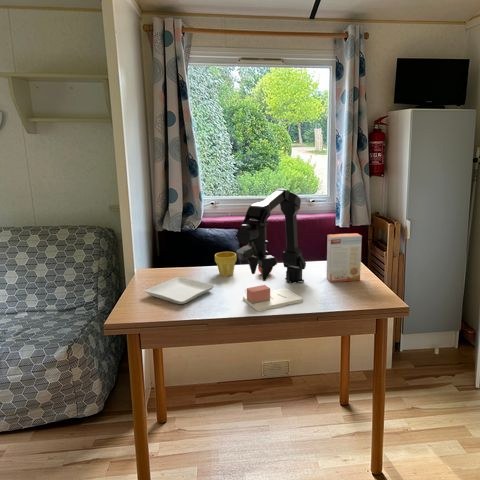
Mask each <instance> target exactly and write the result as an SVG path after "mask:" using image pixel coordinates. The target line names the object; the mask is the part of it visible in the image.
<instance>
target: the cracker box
mask: <svg viewBox="0 0 480 480" xmlns="http://www.w3.org/2000/svg"><path fill="white" fill-rule="evenodd" d="M362 239H363V235H361V234H359V233H358V232H357V233H355V232H354V233H335V234H327V243H326V244H327V245H326V250H327V251H326V279H327V280H328V281H329V283H335V282H336V283H337V282H338V283H339V282H340V283H341V282H355V281H356V282H357V281H360V280H361V269H362V268H361V267H362V264H361V263H362Z"/></svg>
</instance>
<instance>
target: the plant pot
mask: <svg viewBox="0 0 480 480" xmlns="http://www.w3.org/2000/svg"><path fill="white" fill-rule="evenodd" d="M237 259H238V256H237V252H233V251H221V252H217V253H215V254H214V262H215V263H216V265H217V270H218V273H219V275H220V276H222V277H229V276H233V275H234V273H235V271H234V270H235V264H236V262H237Z"/></svg>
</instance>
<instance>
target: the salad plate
mask: <svg viewBox="0 0 480 480" xmlns="http://www.w3.org/2000/svg"><path fill="white" fill-rule="evenodd" d="M214 287H215V285H214V284H212V283H207V282H203V281H199V280H195V279H190V278H187V277H183V276H178V277H175V278H172V279H169V280H167V281H164V282H162V283H159V284H157V285H154V286H151V287H149V288H148V289H145V290H144V292H145V293H146V294H147V295H149V296H152V297H155V298H158V299H161V300H163V301H167V302H171V303H173V304H174V303H175V304H178V305H184V304H186V303H188V302H190V301H193V300H194V299H196V298H198V297H200V296H202V295H203V294H205V293H209V292H210V291H211V290H213V289H214Z"/></svg>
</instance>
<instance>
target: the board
mask: <svg viewBox="0 0 480 480" xmlns="http://www.w3.org/2000/svg"><path fill="white" fill-rule="evenodd" d="M242 300H244V302H246V303H247V304H248V305H250V307H252V308H253V309H255V311H257V312H261V311H265V310H269V309H273V308H279V307H284V306H288V304H289V305H293V304H296V303H302V302H303V301H304V299H303V297H301V296H300V295H298V294H296V293H294V292H293V291H291V290H290V289H288V288H286V287H285V288H281V289H280V288H279V289H274V290H270V301H265V302H260V303H256V304H251V303H250V302H249V301H247V295H243V296H242ZM260 310H261V311H260Z"/></svg>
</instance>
